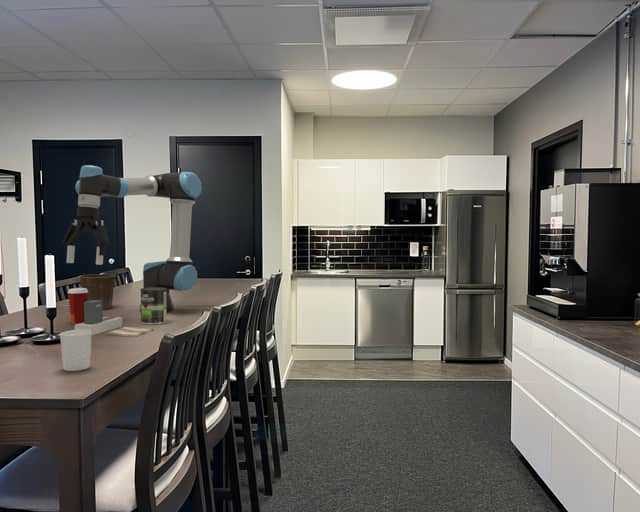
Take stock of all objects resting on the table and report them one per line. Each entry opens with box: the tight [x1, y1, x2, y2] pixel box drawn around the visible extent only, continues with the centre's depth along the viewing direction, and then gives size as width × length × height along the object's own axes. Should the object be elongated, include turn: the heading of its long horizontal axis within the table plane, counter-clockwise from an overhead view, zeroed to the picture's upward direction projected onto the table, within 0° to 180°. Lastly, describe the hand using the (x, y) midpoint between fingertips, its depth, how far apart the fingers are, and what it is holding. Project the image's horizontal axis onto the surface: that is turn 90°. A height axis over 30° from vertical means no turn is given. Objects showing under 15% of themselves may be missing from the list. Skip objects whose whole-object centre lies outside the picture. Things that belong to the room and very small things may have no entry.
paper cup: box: [67, 287, 88, 325], centre depth 209 cm, size 8×8×14 cm
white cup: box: [59, 329, 92, 372], centre depth 142 cm, size 8×8×10 cm
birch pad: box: [105, 326, 155, 338], centre depth 191 cm, size 12×12×1 cm
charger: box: [84, 300, 104, 324], centre depth 191 cm, size 5×4×10 cm
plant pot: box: [79, 273, 117, 311], centre depth 246 cm, size 16×16×16 cm
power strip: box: [74, 315, 123, 337], centre depth 195 cm, size 18×7×5 cm, turn 165°
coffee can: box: [139, 287, 168, 326], centre depth 211 cm, size 10×10×14 cm
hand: (84, 263), depth 191 cm, fingers open, 13 cm apart
